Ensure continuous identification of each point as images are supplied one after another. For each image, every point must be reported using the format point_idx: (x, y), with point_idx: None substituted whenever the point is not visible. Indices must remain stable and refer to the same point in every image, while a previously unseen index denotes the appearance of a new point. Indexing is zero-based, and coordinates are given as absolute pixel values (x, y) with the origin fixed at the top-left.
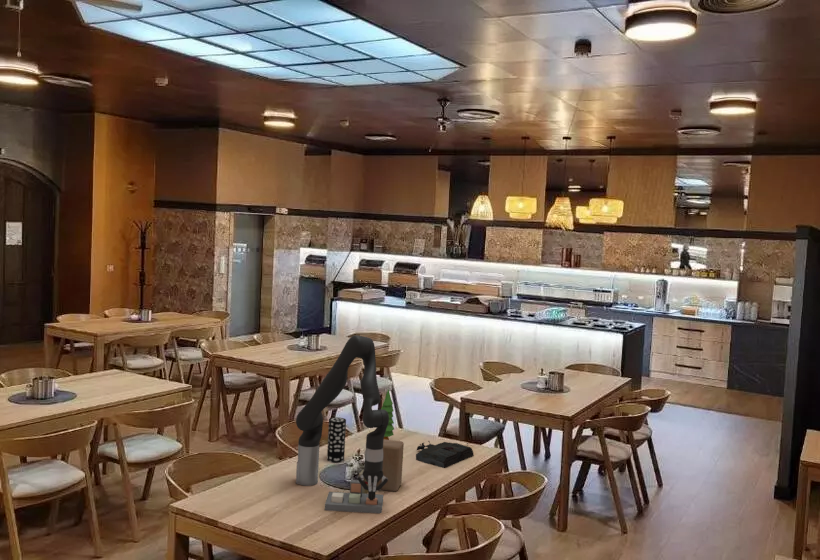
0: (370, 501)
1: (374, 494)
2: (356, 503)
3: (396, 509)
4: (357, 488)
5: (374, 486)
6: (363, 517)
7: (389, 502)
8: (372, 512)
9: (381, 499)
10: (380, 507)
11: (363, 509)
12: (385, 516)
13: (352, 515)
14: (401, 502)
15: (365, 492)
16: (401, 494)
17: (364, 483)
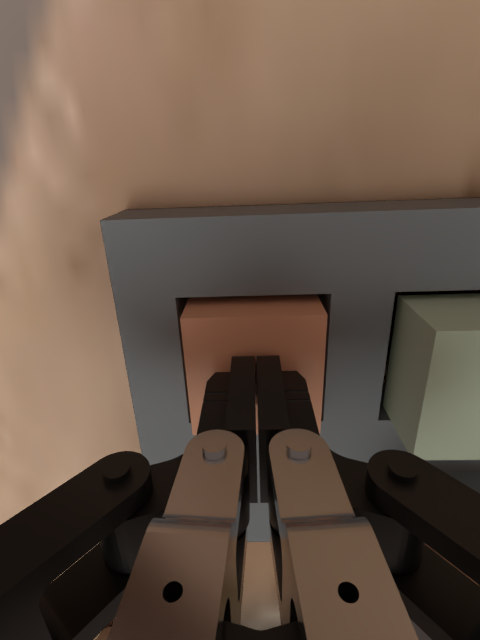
0: (265, 323)
1: (213, 410)
2: (441, 299)
3: (8, 342)
4: None
5: (201, 519)
6: (327, 38)
7: None
8: (227, 206)
9: (155, 444)
10: (119, 218)
11: (340, 207)
12: (64, 132)
13: (469, 82)
14: (15, 481)
15: None
16: None
17: (455, 615)
